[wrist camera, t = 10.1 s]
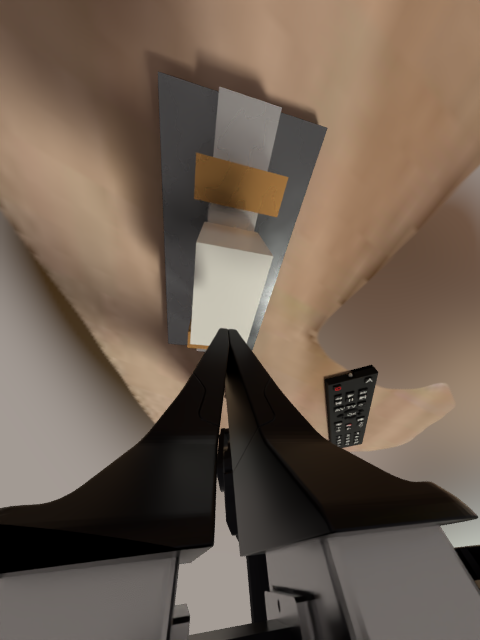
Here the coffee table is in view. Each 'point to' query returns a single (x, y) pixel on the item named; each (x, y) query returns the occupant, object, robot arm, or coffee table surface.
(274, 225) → the rail mount
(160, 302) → the coffee table surface
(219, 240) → the plain light gray block
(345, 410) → the remote control
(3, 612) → the robot arm
